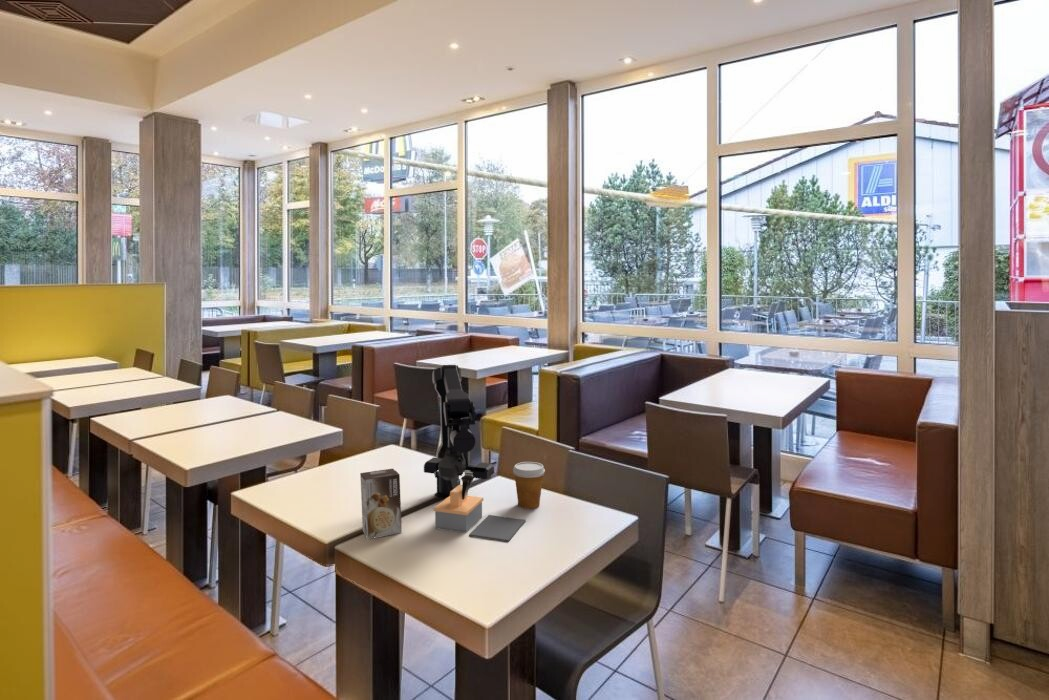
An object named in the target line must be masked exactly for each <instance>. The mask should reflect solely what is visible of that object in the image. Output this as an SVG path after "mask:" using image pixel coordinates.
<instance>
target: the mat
mask: <svg viewBox="0 0 1049 700" xmlns="http://www.w3.org/2000/svg"><path fill="white" fill-rule="evenodd" d="M526 521H527V520H526V519H524V518H516V517H509V516H503V515H502V516H501V515H494V514H493V515H492V514H488V515H487V516H486V517H485V518H484V519H483V520H482V521H481V522H480V523H479V524H478V525H477V526H476V527H475V528H473V530H472V531H470V533H469V534H468V536H469V537H472V538H478V539H479V538H480V539H488V540H493V541H498V542H499V541H501V542H502V541H503V542H507V543H510V541H511V540H512V539H513V538H514V537H515V535H516V534H517V532H519V530H520V529H521V528H522V527H523V526H524V524H525V523H526Z"/></svg>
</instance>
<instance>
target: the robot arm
mask: <svg viewBox="0 0 1049 700" xmlns="http://www.w3.org/2000/svg"><path fill="white" fill-rule="evenodd" d="M431 375H432V377H431V378H432V384H433V385H434V390H435V391H436V393H437V394H438V396H439V409H440V414H439V415H440V445H439V447H438V448H437V450H436V456H435V457H432V458H430V459H429V460H427V461H425V462H424V464H423V472H424V473H426V474H433V476H434V478H436V492H435V493H434V496H435V497H436V496H437V497H443V498H444V497H445V498H447V497H449V496H450V491H452V490H453V489H454V488H456V487H457V486H458V485H462V499H463V500H464V499H465V498H466V495H467V493H468V492H469V490H470V487H471V485H472V482H473V481H474V479H478V480H487V479H489V478H490V477H491V476H493V475H494V473H495V467H494V465H493V463H489V462H479V463H477V464H476V465H470V464H471V463H472V459H471V458H470V452H471V451H472V450H473V449H474V447H475V445H476V437H475V436H474V434H473V433H472V431H471V428H470V426H474V425H476V421H477V413H476V405H475V404H474V402H473V400H471V398H470V395H469V394H468V393H467V392H465V391H464V390H463V387H462V383H461V382H462V368H460V367H459V365H456V364H443V365H441V366H440V367H438V368H434V369H433V371H432V374H431ZM461 476H462V477H461ZM460 477H461V478H460ZM461 481H462V484H461Z"/></svg>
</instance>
